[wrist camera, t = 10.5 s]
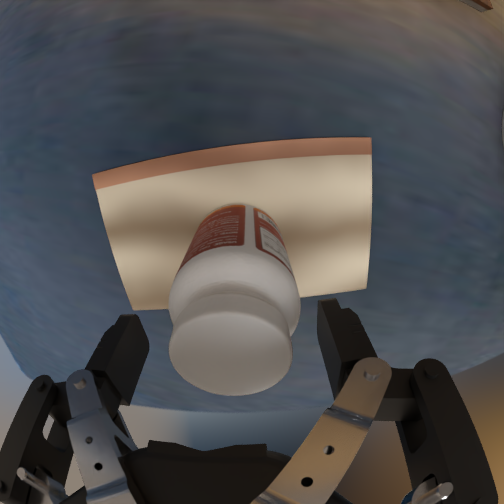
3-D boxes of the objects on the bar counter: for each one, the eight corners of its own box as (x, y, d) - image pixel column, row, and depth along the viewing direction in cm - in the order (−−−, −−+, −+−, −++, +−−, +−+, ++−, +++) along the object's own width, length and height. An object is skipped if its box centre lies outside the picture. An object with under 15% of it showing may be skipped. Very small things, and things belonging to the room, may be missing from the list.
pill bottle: (191, 272, 21) (149, 390, 10) (203, 193, 18) (146, 275, 8) (271, 287, 21) (284, 412, 11) (292, 212, 19) (339, 311, 9)
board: (96, 173, 18) (92, 174, 17) (367, 137, 17) (370, 137, 16) (135, 306, 23) (132, 310, 22) (363, 284, 22) (366, 289, 21)
